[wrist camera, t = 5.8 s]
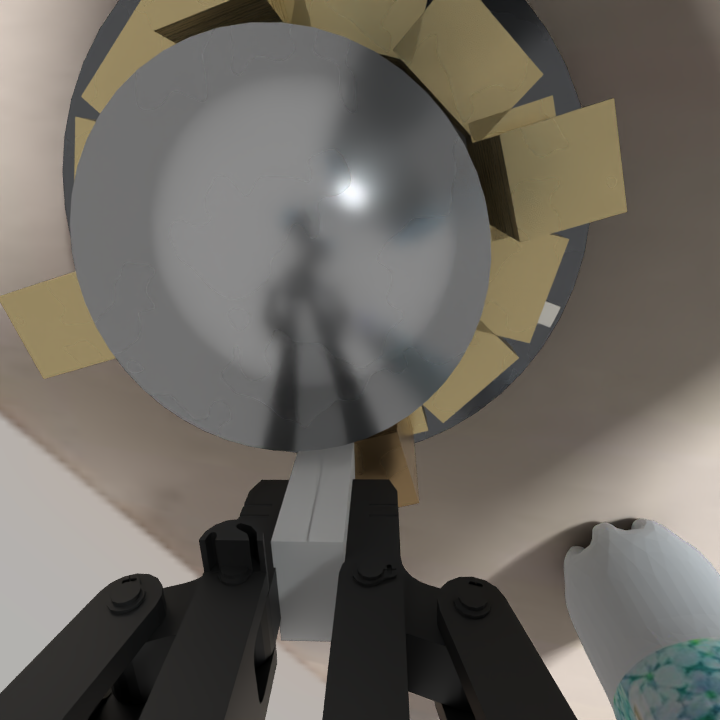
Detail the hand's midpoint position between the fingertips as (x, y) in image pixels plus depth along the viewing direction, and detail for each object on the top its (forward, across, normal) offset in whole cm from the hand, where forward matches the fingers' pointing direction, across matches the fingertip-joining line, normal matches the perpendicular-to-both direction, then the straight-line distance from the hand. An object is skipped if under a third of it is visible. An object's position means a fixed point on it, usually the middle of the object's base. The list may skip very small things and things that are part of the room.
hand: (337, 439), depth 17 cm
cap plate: (+5, 0, +6) cm, 8 cm away
